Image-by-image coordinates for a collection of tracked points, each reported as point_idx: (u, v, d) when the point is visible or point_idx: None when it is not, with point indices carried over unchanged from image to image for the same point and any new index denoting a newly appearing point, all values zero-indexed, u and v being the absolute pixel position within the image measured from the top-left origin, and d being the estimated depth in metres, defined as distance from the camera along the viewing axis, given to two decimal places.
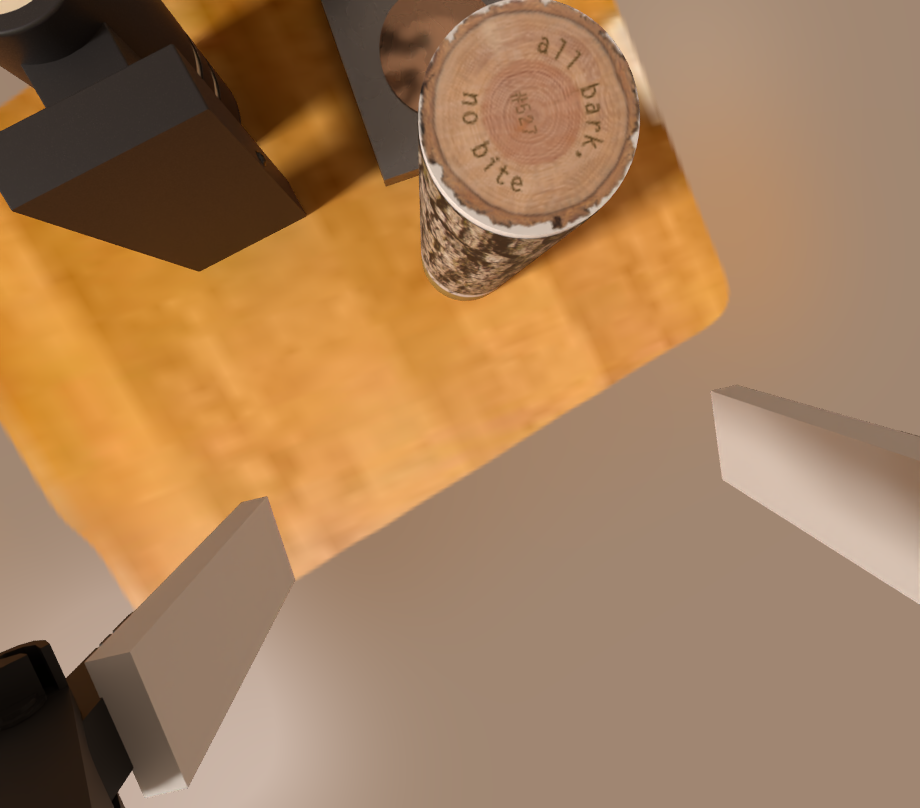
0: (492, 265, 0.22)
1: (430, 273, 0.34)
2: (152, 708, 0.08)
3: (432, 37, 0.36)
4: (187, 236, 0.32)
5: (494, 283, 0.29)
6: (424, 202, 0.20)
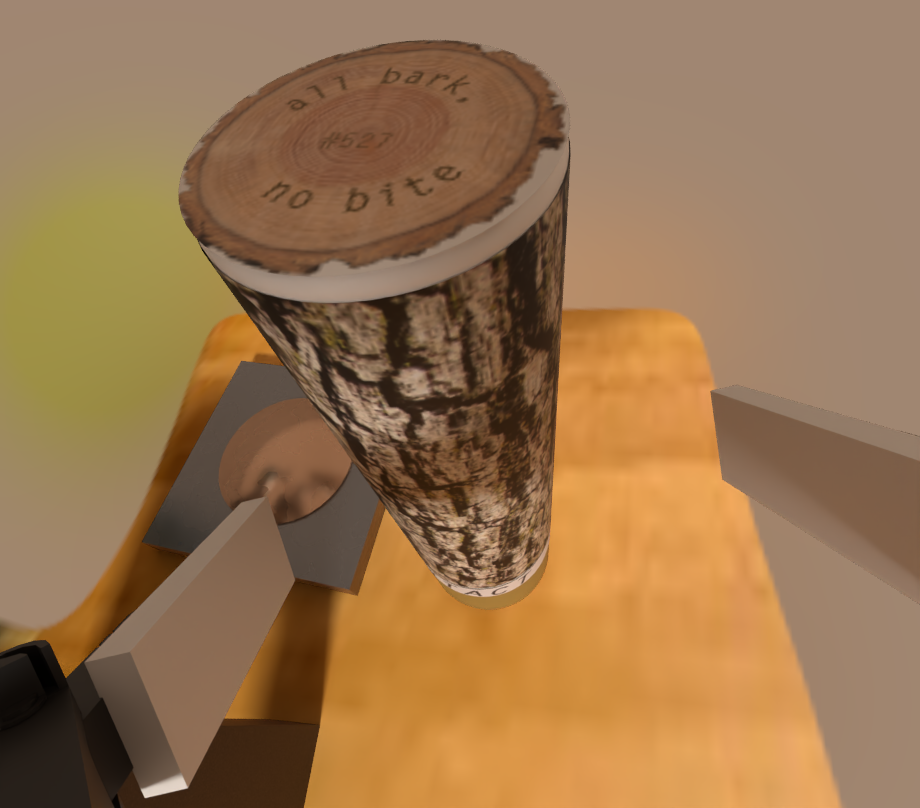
0: (538, 411, 0.12)
1: (485, 590, 0.23)
2: (152, 708, 0.08)
3: (269, 459, 0.33)
4: None
5: (550, 487, 0.19)
6: (386, 443, 0.11)
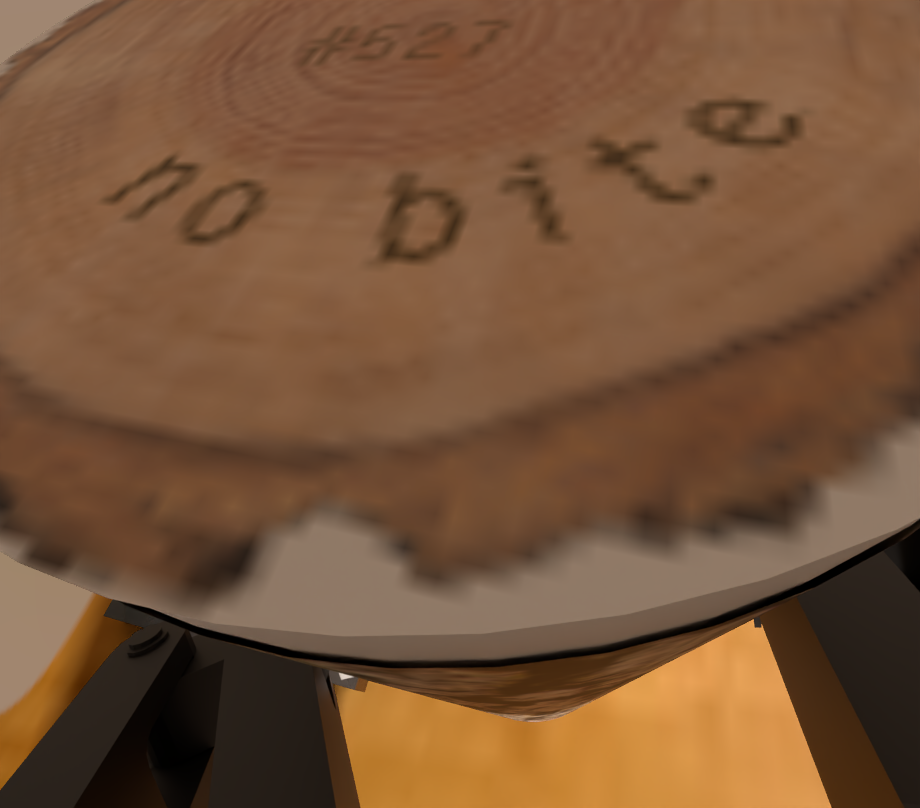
0: None
1: (535, 721, 0.17)
2: None
3: None
4: None
5: None
6: (438, 698, 0.06)
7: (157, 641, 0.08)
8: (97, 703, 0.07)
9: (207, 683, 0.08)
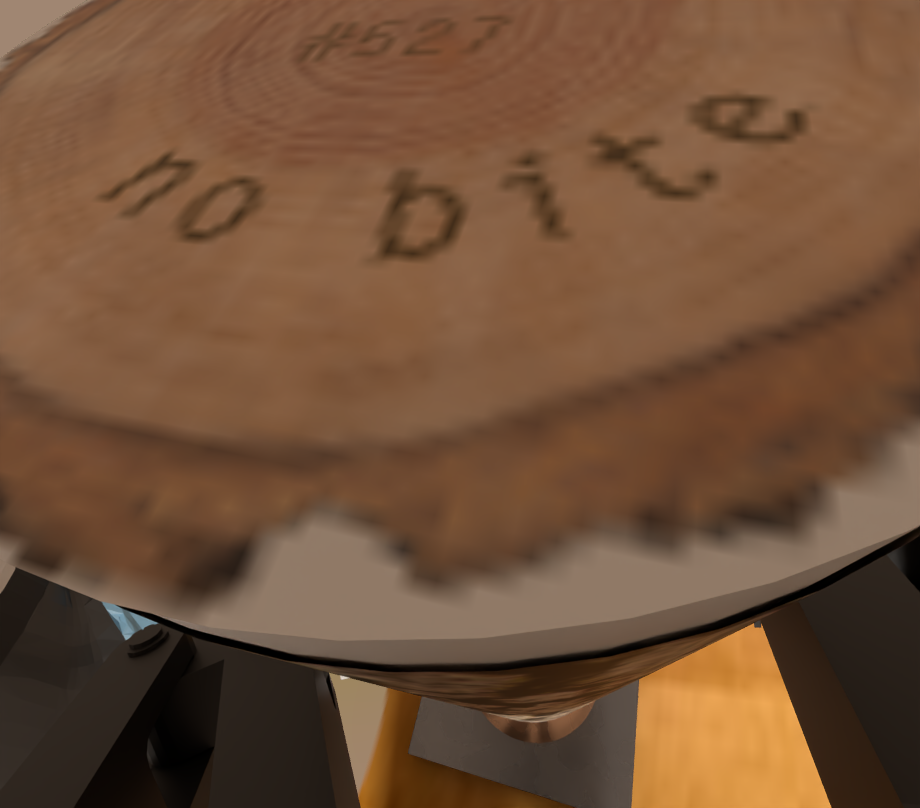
0: None
1: None
2: None
3: None
4: None
5: None
6: None
7: (157, 641, 0.08)
8: (98, 703, 0.07)
9: (207, 683, 0.08)
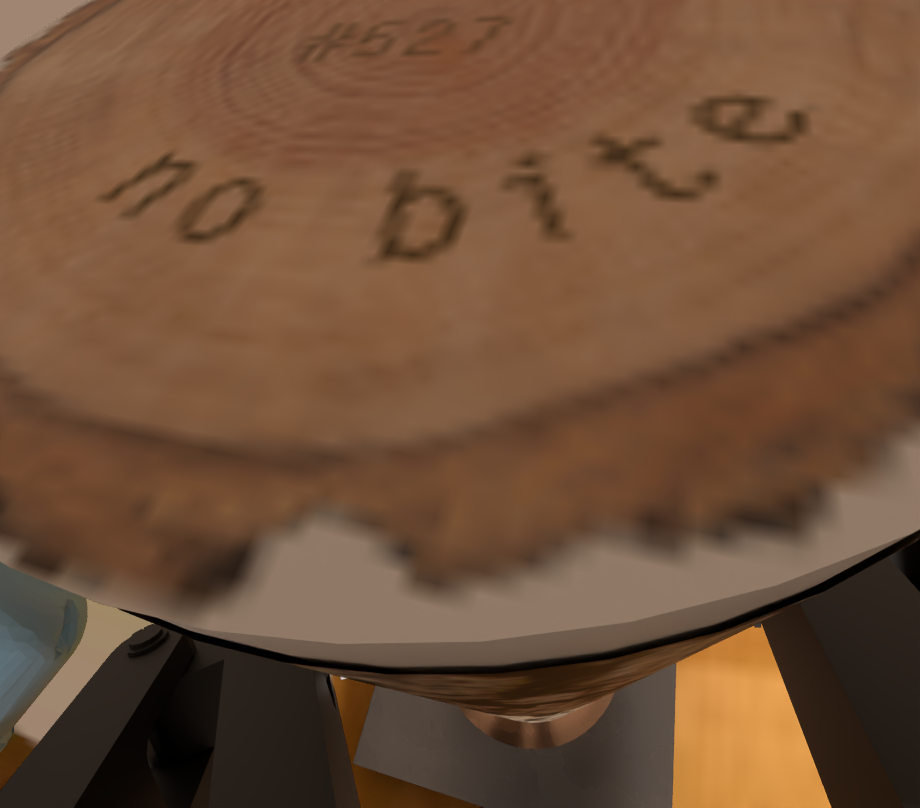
0: None
1: None
2: None
3: None
4: None
5: None
6: None
7: (157, 641, 0.08)
8: (97, 703, 0.07)
9: (207, 683, 0.08)
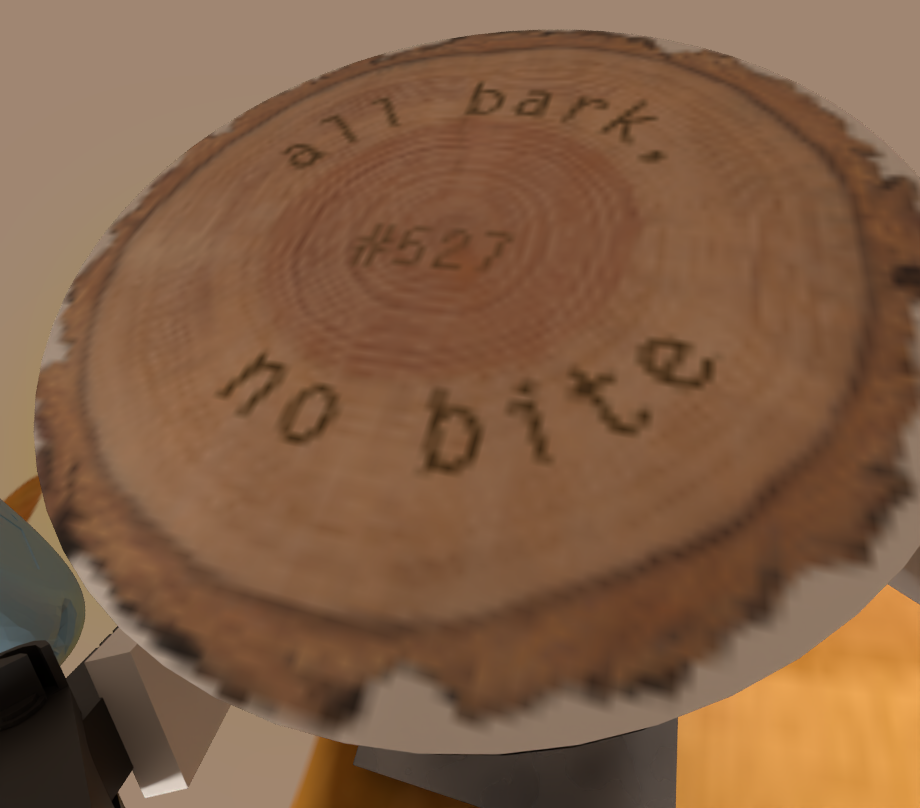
0: None
1: None
2: (152, 708, 0.08)
3: None
4: None
5: None
6: None
7: None
8: None
9: None
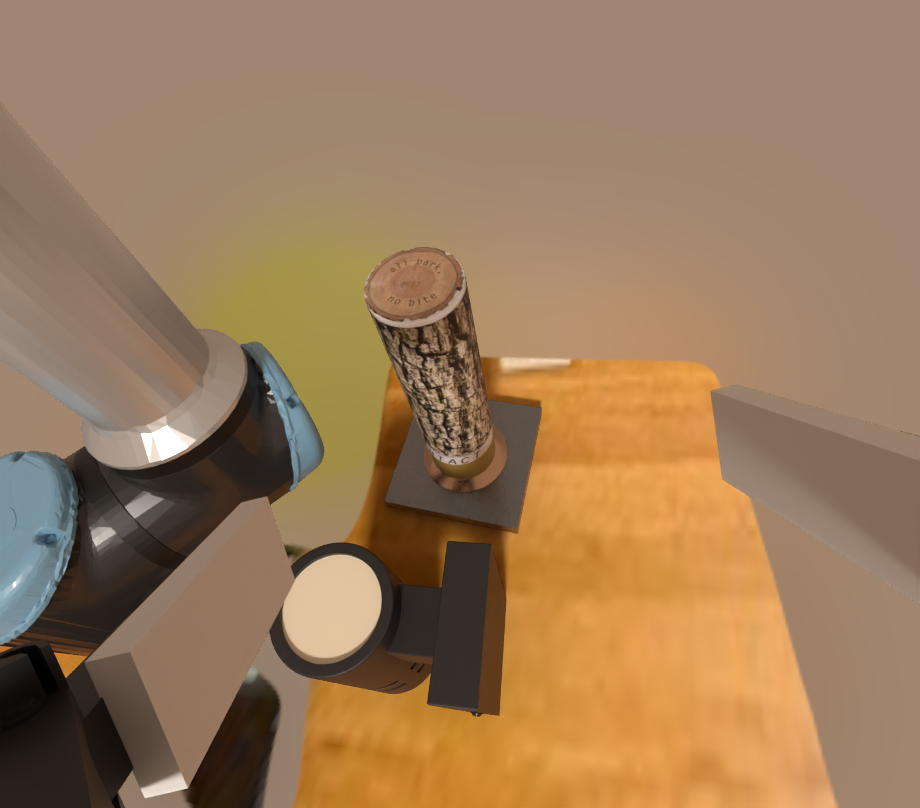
0: (466, 361, 0.37)
1: (457, 458, 0.48)
2: (152, 708, 0.08)
3: None
4: (495, 674, 0.38)
5: (483, 401, 0.43)
6: (415, 368, 0.36)
7: None
8: None
9: None
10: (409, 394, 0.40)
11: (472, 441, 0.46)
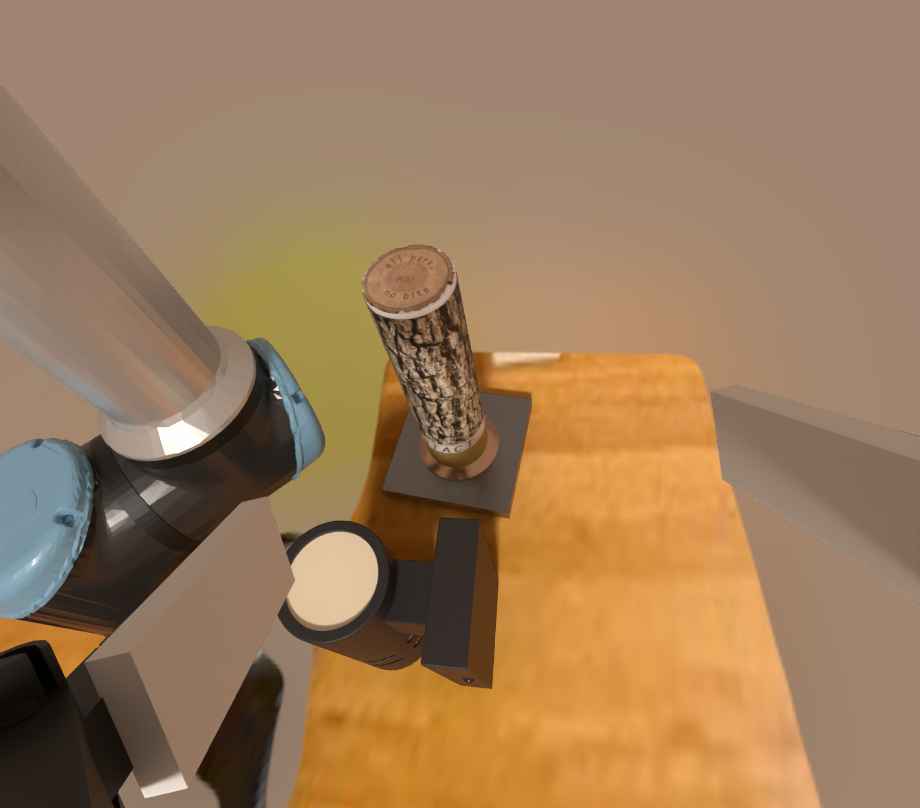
0: (457, 351, 0.39)
1: (451, 446, 0.50)
2: (152, 708, 0.08)
3: None
4: (487, 646, 0.40)
5: (474, 390, 0.46)
6: (410, 358, 0.38)
7: None
8: None
9: None
10: (404, 384, 0.42)
11: (465, 430, 0.48)
